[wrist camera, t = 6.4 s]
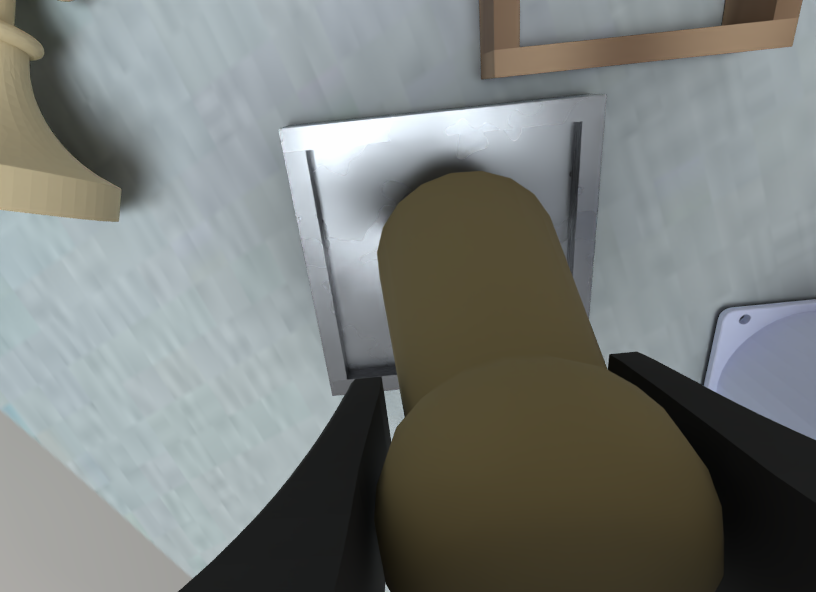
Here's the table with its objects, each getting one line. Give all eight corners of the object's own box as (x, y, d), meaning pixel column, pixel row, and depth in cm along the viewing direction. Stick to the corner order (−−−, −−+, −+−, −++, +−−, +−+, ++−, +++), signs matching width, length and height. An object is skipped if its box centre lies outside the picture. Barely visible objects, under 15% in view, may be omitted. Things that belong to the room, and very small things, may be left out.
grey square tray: (588, 93, 17) (606, 94, 16) (572, 352, 22) (584, 371, 21) (287, 125, 17) (278, 129, 16) (336, 375, 22) (332, 395, 21)
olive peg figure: (372, 327, 17) (332, 719, 7) (382, 161, 14) (336, 470, 4) (533, 338, 17) (696, 726, 8) (578, 179, 14) (947, 501, 4)
